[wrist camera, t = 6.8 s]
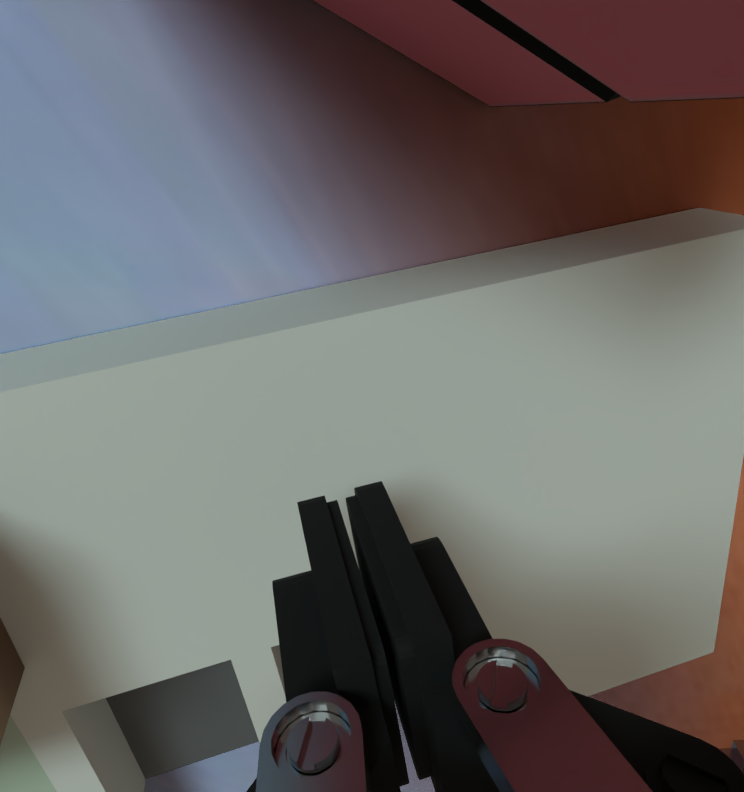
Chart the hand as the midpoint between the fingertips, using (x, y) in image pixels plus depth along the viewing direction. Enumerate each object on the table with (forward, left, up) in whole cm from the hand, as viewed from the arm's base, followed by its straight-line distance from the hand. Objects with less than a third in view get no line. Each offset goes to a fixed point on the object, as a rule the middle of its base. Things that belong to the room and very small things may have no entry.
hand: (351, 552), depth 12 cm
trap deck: (+1, +3, -5) cm, 6 cm away
